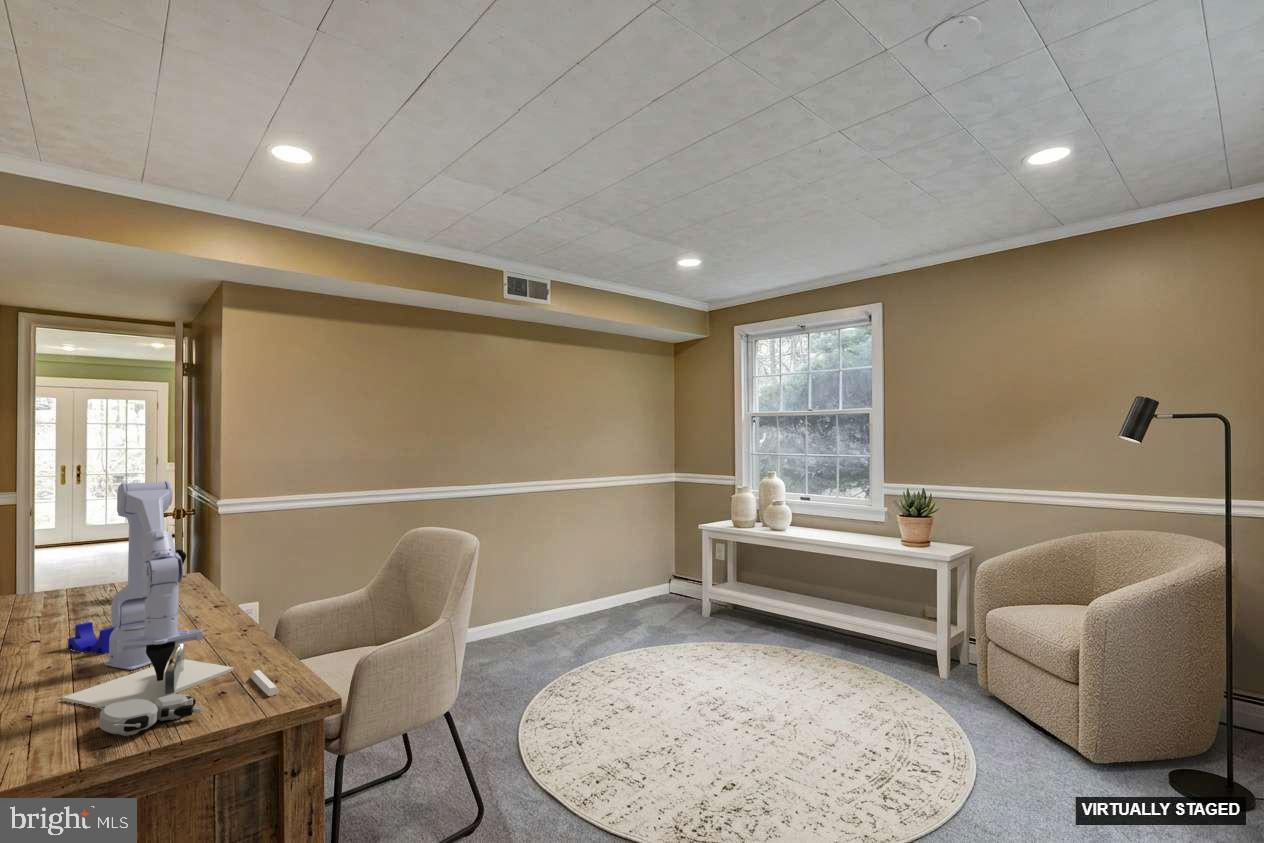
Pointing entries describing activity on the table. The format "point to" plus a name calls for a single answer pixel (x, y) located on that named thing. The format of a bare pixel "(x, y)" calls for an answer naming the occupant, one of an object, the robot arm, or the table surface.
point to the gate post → (181, 645)
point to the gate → (173, 671)
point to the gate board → (146, 685)
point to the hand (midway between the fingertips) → (160, 679)
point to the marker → (264, 683)
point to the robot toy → (144, 713)
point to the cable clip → (90, 639)
